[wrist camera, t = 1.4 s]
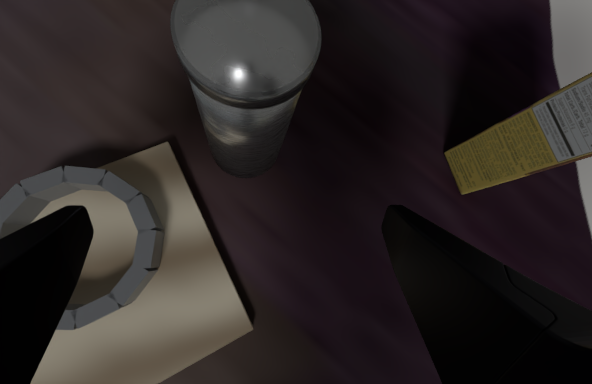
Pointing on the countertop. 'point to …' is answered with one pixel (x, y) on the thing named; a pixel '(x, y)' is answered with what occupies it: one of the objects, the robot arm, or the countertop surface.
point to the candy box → (528, 140)
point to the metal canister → (246, 73)
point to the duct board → (158, 292)
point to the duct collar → (63, 181)
